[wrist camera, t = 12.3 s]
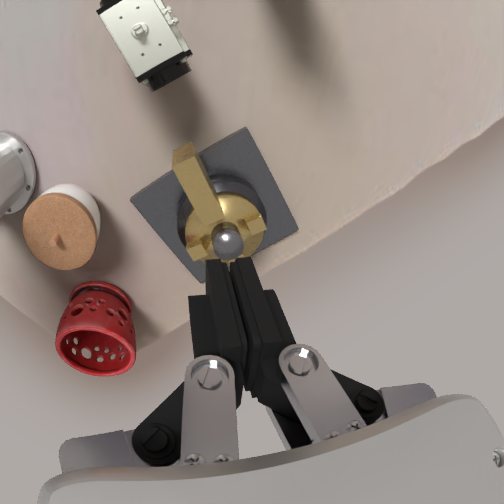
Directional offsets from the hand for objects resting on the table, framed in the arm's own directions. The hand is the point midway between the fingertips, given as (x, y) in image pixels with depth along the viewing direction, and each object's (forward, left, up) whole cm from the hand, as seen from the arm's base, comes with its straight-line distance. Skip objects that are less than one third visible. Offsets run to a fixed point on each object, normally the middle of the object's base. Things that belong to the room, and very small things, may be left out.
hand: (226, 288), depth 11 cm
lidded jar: (-20, +1, -29) cm, 36 cm away
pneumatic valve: (+2, +13, -29) cm, 32 cm away
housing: (-3, -12, -29) cm, 32 cm away
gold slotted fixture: (-3, -9, -25) cm, 26 cm away
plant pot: (-29, -15, -29) cm, 44 cm away
